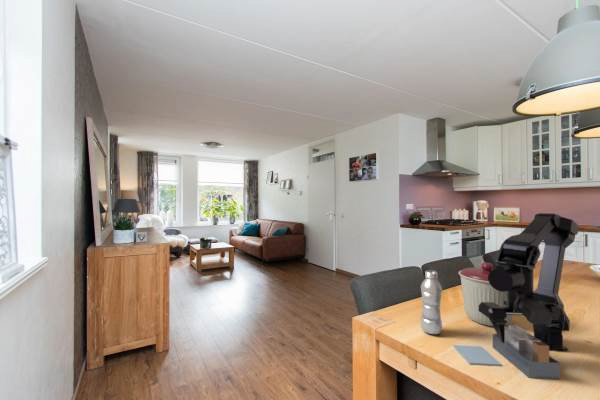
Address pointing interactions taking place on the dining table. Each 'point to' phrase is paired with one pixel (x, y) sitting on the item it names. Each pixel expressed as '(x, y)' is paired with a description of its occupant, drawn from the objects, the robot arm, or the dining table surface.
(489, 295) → the canister
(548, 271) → the robot arm
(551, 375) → the body
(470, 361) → the rubber pad
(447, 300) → the dining table surface
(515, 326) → the lever cap
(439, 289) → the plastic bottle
